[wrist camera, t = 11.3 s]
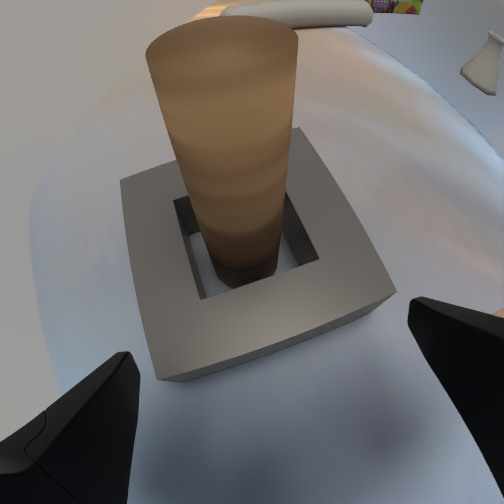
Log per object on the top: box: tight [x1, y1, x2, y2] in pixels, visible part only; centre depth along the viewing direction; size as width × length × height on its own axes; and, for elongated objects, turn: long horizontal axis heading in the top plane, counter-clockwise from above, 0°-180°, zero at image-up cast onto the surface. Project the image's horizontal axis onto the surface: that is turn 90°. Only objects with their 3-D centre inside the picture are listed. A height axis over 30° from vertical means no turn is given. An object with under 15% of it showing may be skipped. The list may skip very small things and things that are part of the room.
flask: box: [460, 31, 504, 96], centre depth 26 cm, size 7×7×10 cm
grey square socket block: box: [120, 127, 397, 382], centre depth 17 cm, size 12×12×4 cm
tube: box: [220, 0, 374, 29], centre depth 34 cm, size 5×5×25 cm
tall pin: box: [146, 15, 298, 289], centre depth 13 cm, size 4×4×14 cm
